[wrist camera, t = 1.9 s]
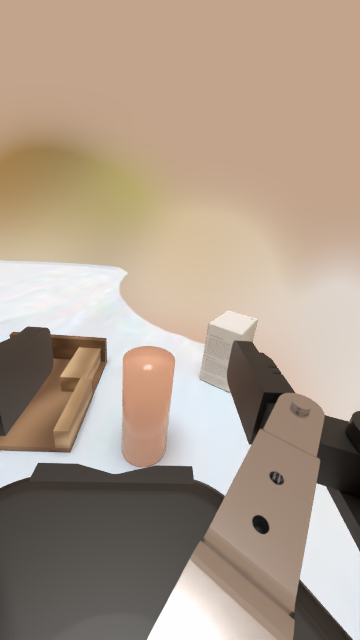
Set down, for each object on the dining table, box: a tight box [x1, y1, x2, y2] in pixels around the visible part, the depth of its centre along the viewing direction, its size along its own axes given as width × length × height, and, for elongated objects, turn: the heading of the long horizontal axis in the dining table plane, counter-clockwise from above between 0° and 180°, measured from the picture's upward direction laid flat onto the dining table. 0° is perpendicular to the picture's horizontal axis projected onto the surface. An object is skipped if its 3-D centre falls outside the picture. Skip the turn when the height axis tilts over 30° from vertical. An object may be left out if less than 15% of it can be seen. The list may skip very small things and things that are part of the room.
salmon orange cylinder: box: [122, 346, 175, 467], centre depth 27 cm, size 5×5×12 cm
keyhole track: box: [0, 332, 107, 452], centre depth 34 cm, size 15×18×5 cm
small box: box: [200, 310, 258, 392], centre depth 42 cm, size 8×6×10 cm
